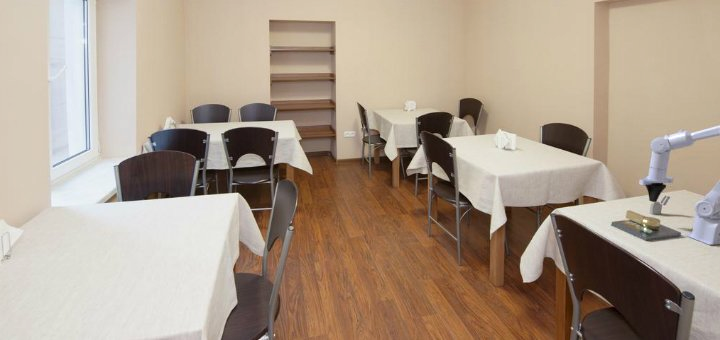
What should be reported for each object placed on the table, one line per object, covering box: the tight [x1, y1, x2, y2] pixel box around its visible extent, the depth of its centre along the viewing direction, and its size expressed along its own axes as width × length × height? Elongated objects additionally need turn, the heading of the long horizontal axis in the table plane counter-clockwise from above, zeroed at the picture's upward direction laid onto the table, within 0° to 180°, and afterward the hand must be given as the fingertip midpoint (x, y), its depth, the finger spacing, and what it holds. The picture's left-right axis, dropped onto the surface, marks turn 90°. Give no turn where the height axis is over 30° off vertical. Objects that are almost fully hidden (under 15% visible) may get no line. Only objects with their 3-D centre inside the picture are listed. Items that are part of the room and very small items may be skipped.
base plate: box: [610, 219, 682, 242], centre depth 172 cm, size 16×16×3 cm
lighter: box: [649, 194, 671, 215], centre depth 190 cm, size 7×2×8 cm, turn 96°
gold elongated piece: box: [625, 210, 661, 230], centre depth 174 cm, size 14×6×3 cm, turn 15°
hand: (652, 201), depth 177 cm, fingers closed
